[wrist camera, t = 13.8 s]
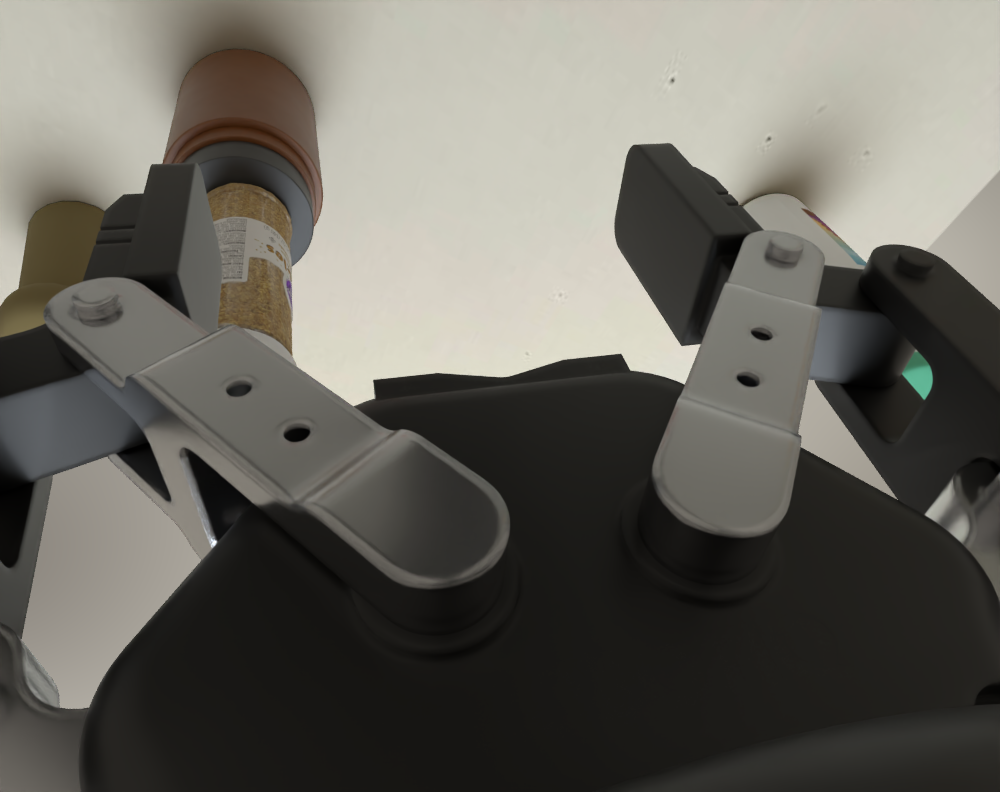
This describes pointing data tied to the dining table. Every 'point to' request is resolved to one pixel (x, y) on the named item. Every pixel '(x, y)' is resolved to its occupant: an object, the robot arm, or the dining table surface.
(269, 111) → the amber bottle
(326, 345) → the dining table surface
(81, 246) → the cork
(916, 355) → the milk bottle
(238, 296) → the spice jar
